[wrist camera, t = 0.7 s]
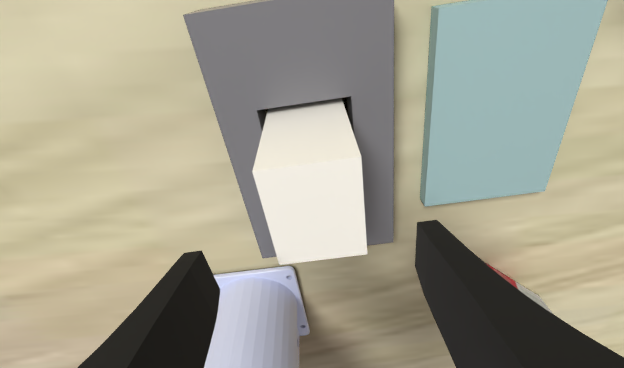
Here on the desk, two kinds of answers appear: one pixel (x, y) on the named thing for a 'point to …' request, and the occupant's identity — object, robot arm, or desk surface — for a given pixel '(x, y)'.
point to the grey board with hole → (302, 85)
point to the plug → (311, 182)
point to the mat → (501, 94)
